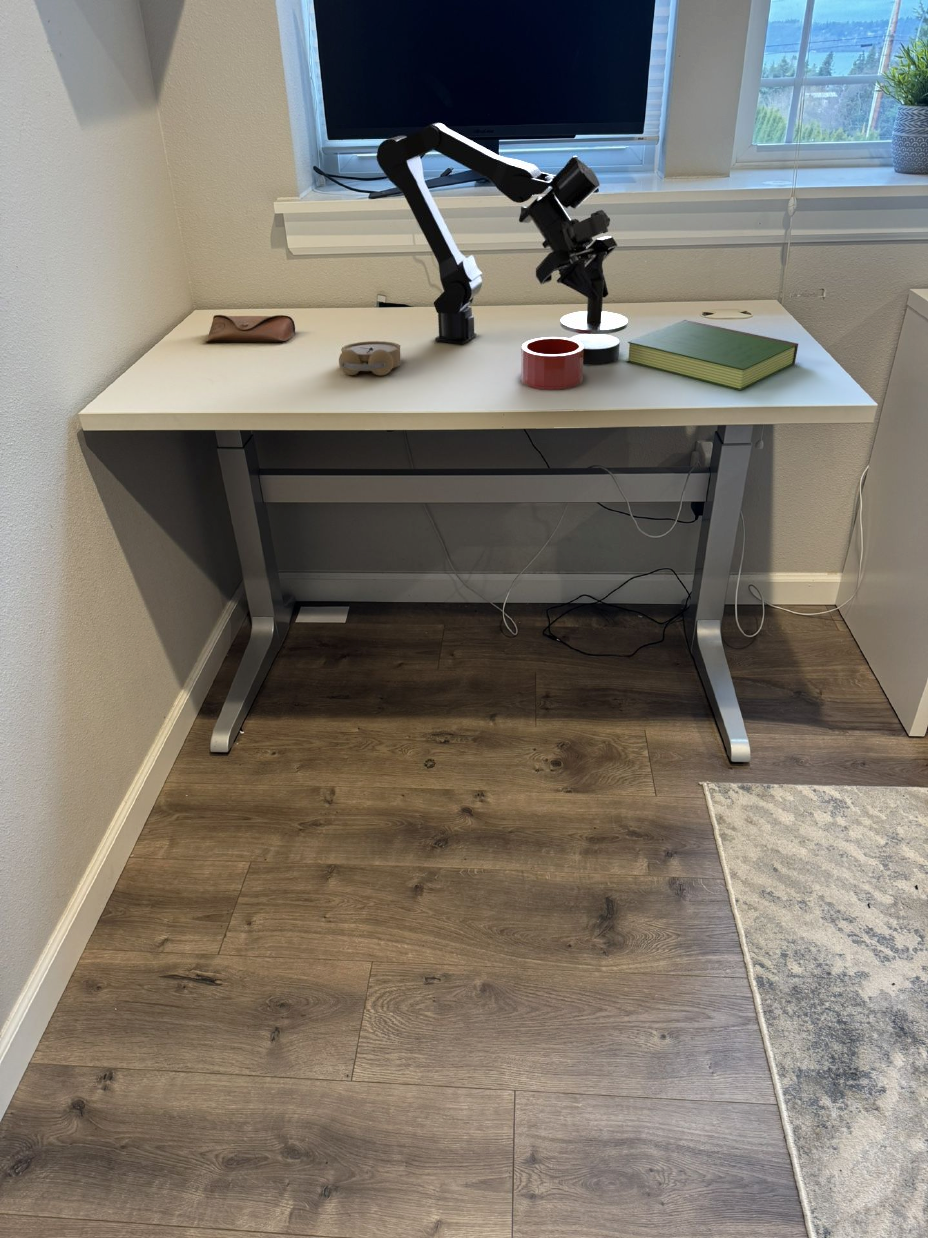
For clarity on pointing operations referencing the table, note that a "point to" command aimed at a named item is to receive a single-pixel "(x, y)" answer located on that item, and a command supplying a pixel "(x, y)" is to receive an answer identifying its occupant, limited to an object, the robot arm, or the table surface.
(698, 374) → the hardcover book
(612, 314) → the lid
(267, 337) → the sunglasses case
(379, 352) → the alarm clock
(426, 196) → the robot arm
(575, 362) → the red faceted pot
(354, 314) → the table surface
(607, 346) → the stand
